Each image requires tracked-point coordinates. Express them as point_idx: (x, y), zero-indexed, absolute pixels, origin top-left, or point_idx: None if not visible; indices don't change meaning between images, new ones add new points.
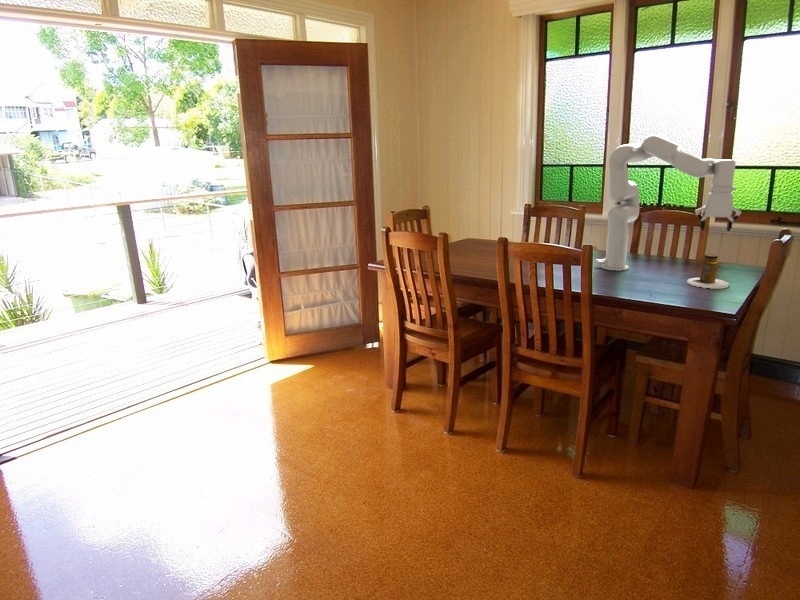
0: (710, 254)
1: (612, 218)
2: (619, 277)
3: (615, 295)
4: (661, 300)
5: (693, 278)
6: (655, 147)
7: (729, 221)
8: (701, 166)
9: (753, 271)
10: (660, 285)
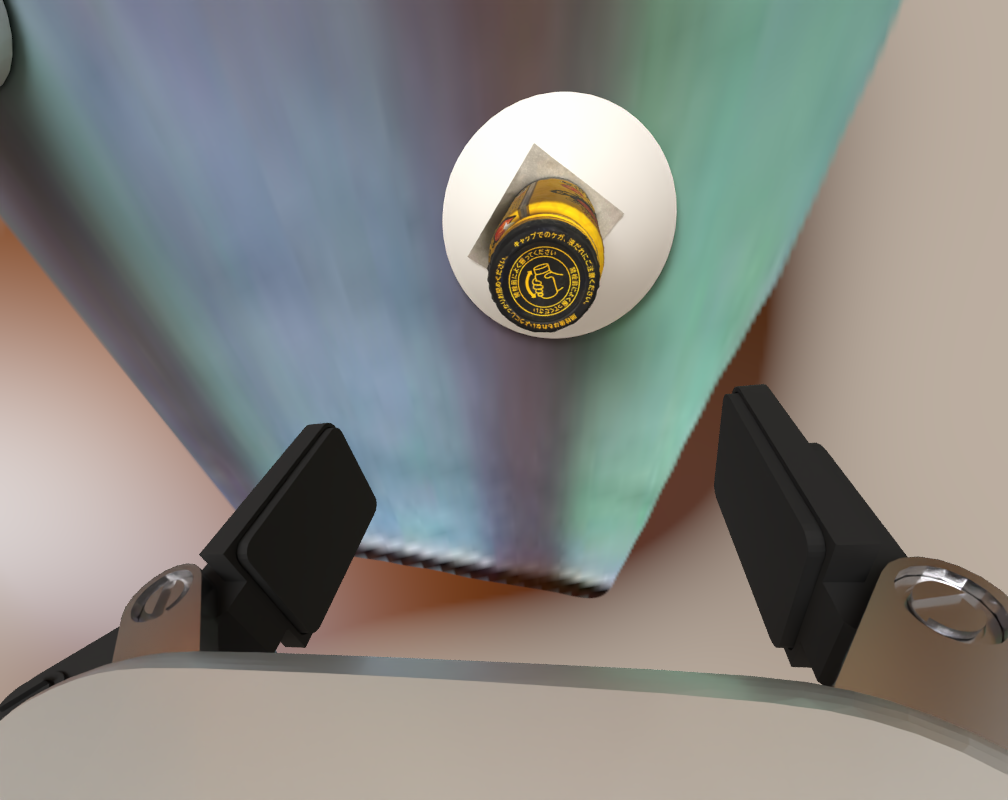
0: (537, 240)
1: None
2: (133, 269)
3: None
4: (417, 530)
5: (468, 164)
6: None
7: (808, 646)
8: None
9: None
10: (352, 353)
